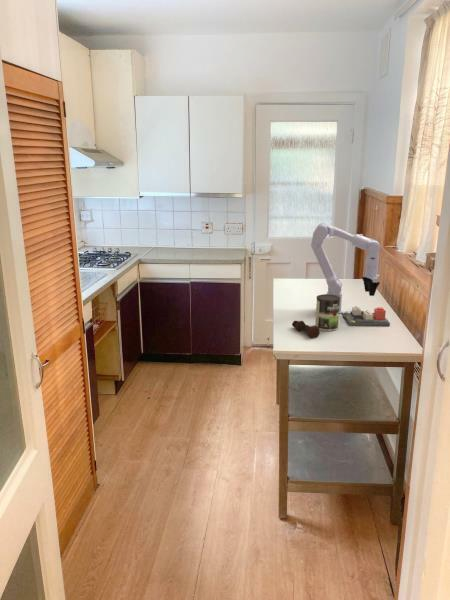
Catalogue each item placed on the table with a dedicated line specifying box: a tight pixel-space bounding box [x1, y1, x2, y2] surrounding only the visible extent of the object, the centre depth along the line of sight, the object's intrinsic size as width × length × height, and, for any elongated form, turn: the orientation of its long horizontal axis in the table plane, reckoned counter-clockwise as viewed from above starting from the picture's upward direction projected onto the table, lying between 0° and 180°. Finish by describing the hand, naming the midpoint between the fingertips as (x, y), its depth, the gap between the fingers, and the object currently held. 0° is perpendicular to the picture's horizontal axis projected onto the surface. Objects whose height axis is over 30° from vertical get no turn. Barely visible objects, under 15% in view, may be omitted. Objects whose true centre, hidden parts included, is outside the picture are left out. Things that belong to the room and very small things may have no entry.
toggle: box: [351, 305, 362, 315], centre depth 228 cm, size 3×5×4 cm, turn 179°
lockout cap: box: [373, 306, 387, 320], centre depth 222 cm, size 4×4×6 cm
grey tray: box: [342, 310, 391, 327], centre depth 225 cm, size 18×15×2 cm
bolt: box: [291, 320, 321, 339], centre depth 210 cm, size 6×5×15 cm
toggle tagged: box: [363, 310, 373, 320], centre depth 222 cm, size 3×5×4 cm, turn 179°
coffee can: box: [314, 293, 340, 332], centre depth 215 cm, size 10×10×14 cm
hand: (369, 293), depth 233 cm, fingers open, 7 cm apart
